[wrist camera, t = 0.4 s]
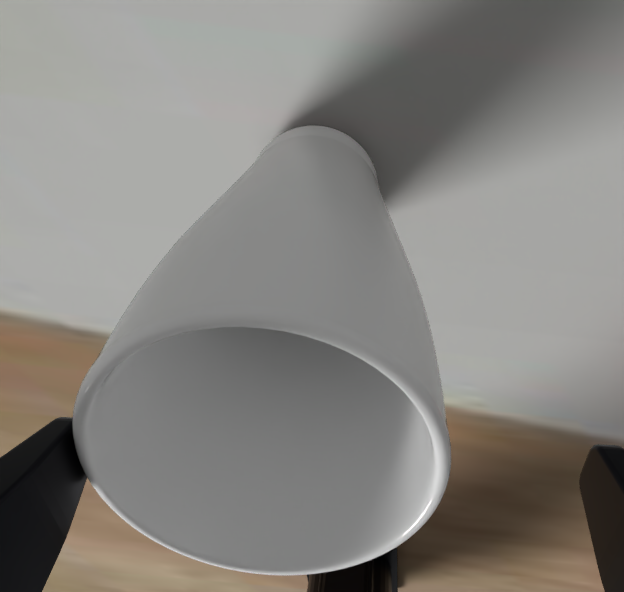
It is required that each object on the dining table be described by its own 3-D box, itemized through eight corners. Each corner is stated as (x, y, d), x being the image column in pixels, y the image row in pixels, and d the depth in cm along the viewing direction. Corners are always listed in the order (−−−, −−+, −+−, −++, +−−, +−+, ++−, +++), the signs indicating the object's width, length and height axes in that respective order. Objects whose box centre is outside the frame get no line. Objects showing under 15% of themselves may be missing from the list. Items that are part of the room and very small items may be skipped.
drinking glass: (361, 73, 19) (376, 240, 6) (415, 226, 22) (501, 549, 9) (208, 142, 21) (-24, 383, 8) (278, 275, 24) (191, 602, 11)
